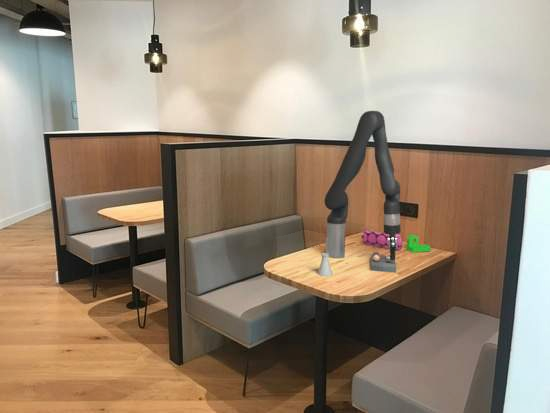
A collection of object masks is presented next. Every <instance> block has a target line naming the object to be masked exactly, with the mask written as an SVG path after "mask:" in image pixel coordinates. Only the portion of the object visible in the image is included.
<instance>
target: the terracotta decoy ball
mask: <svg viewBox="0 0 550 413" xmlns="http://www.w3.org/2000/svg"><path fill="white" fill-rule="evenodd" d="M379 255H380V254H379ZM379 255H374V256H373V260H374V261H379V260H380V257H379Z"/></svg>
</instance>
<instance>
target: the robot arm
mask: <svg viewBox="0 0 550 413" xmlns="http://www.w3.org/2000/svg"><path fill="white" fill-rule="evenodd" d="M371 137H372V139H373V144H374V159H375V160H374V161H375V165H376V168H377V172H378V174H379V183H380V188H381V191H382V193H383V195H385V197H384V198H385V199H384V200H385V201H384V202H383V233H385V234H389V237H388V245H389V248H390V249H388V250H389V255H390V259H391V260H396V251H397V250H396V247H397V245H396V242H397V237H395V234H401V233H402V232H401V231H402V230H401V213H400V199H401V185H400V183H399V181H398V180H396V178H395V173H394V172H395V168H394V164H393V160H392V157H391V154H390V149H389V145H388V137H387V130H386V121H385V117H384V115H383V113H382V112H380V111H378V110H368V111H364V113H362V114H361V116H360V118H359V120H358V123H357V127H356V129H355V133H354V134H353V138H352V140H351V142H350V144H349V147H348V148H347V151H346V153H345V155H344V157H343V159H342V162H341V163H340V164H341V165H340V167H339V168H338V171H337V173H336V176H335V178H334V180H333V181H332V183H331V185H330V187H329V189H328V191H327V192H326V194H325V196H324V205H325V207H326V208H327V209H328V210H331V211H330V213H329V215H327V217H326V223H327V224H326V241H325V253H328V254H329V255H328V258H334V259H335V258H336V259H337V258H338V259H339V258H341V259H342V258H344V257H345V255H346V226H347V224H346V221H347V218H348V213H349V196H348V194H347V192H346V189H347V187H348V186H349V184H351V183H352V181H353V180H354V179H355V178H356V177H357V175H359V172H361V168H362V167H363V165H364V162H365V160H366V153H367V146H368V143H369V142H370V139H371Z"/></svg>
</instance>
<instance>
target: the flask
mask: <svg viewBox="0 0 550 413" xmlns="http://www.w3.org/2000/svg"><path fill="white" fill-rule="evenodd" d="M328 255H329V254H328V253H326V252H323V253H321V262H320V265H319V267H318V271H317V272H316V274H317V275H318V276H321V277H330V276H333V270H332V268H331V265H330V261H329V257H328Z"/></svg>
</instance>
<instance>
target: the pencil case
mask: <svg viewBox="0 0 550 413" xmlns="http://www.w3.org/2000/svg"><path fill="white" fill-rule="evenodd" d="M388 237H389V234H385V233H384V231H383V232H382V231H376V230H375V231H374V230H372V229H370V228H368V227H365V228H364V233H363V235H361V239H362V242H363V244H364V245H366V246H373V247H376V248H382V249H387V250H389V249H390V248H389V245H388ZM395 237H397V242H396V245H397V247H396V251H400V250H401V249H402V248H403V240H402V236H401V233H399V234H395Z"/></svg>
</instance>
